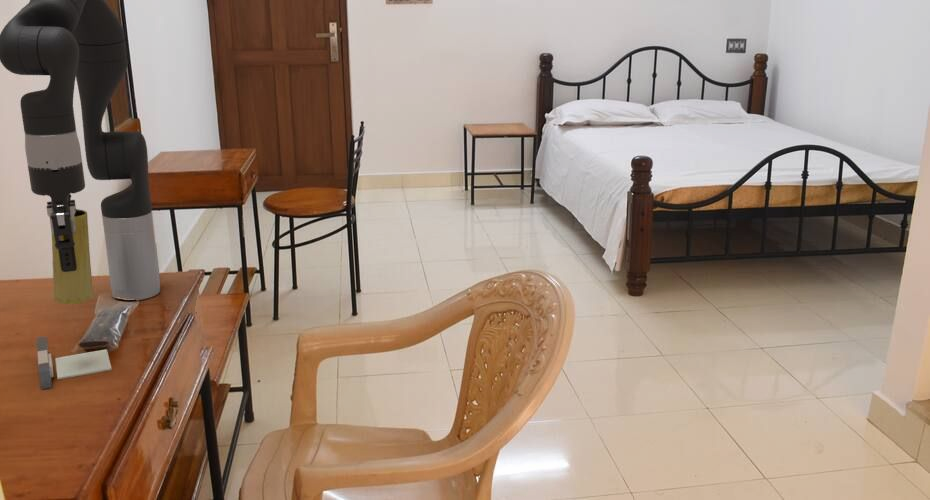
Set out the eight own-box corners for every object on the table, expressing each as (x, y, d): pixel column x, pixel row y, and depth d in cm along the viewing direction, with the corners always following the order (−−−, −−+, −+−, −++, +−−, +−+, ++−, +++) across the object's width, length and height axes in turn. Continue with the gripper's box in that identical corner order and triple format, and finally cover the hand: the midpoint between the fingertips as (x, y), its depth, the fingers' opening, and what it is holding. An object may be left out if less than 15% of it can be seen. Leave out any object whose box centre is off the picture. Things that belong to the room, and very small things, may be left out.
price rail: (39, 354, 137) (36, 336, 136) (51, 352, 138) (48, 334, 137) (41, 389, 125) (38, 370, 124) (54, 387, 126) (52, 368, 125)
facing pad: (55, 359, 135) (55, 358, 135) (106, 350, 139) (106, 349, 138) (57, 379, 128) (57, 378, 128) (111, 369, 132) (111, 368, 132)
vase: (44, 301, 127) (38, 214, 123) (69, 289, 133) (64, 206, 129) (78, 306, 126) (73, 219, 122) (102, 294, 132) (98, 211, 128)
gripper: (29, 153, 127) (44, 254, 133) (24, 172, 115) (41, 282, 120) (81, 150, 130) (94, 249, 136) (82, 168, 118) (96, 276, 123)
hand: (69, 264), depth 128 cm, fingers closed on vase, 5 cm apart
